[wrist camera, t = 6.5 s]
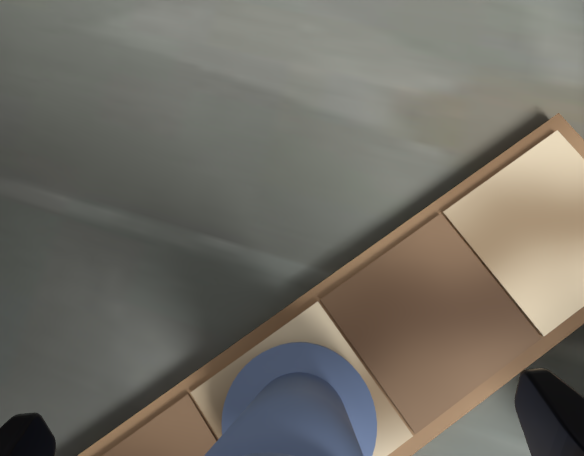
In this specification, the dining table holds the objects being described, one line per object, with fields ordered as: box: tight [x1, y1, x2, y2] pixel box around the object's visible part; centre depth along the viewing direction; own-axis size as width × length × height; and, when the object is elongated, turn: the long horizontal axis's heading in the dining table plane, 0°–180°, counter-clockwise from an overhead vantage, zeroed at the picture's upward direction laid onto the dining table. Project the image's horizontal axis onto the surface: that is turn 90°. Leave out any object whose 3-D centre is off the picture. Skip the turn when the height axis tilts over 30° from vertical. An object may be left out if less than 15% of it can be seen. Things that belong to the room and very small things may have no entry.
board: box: [77, 113, 584, 456], centre depth 16 cm, size 6×23×1 cm, turn 125°
